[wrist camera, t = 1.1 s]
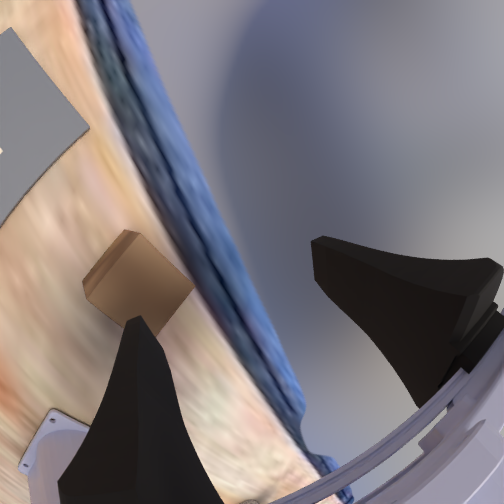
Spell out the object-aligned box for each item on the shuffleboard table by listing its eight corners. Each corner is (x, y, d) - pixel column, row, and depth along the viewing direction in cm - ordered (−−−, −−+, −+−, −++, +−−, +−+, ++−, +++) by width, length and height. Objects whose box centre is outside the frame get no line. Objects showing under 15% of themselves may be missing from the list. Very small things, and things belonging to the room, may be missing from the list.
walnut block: (130, 320, 18) (148, 346, 15) (82, 280, 16) (86, 299, 12) (168, 272, 20) (195, 285, 16) (124, 229, 17) (140, 233, 14)
